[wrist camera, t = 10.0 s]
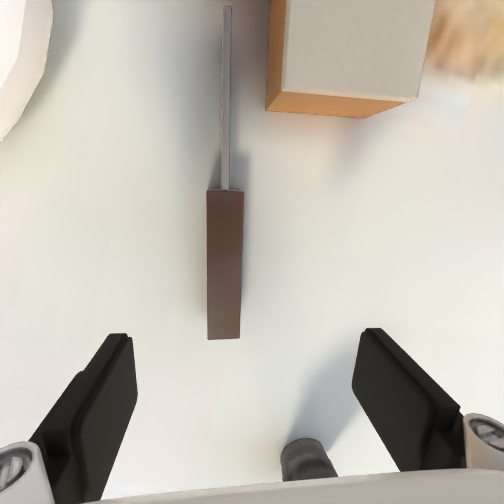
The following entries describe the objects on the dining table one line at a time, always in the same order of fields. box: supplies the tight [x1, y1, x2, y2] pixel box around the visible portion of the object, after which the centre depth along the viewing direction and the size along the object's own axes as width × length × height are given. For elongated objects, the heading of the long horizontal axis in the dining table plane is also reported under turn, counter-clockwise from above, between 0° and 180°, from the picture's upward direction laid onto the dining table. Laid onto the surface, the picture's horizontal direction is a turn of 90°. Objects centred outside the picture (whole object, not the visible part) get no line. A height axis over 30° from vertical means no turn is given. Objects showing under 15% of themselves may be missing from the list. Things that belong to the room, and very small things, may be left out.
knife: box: [206, 6, 244, 340], centre depth 17 cm, size 2×19×3 cm, turn 177°
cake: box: [265, 0, 436, 118], centre depth 14 cm, size 7×8×5 cm
